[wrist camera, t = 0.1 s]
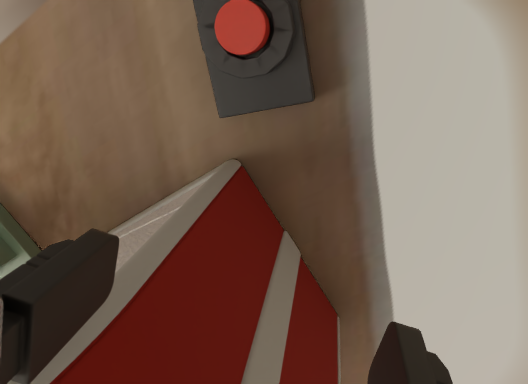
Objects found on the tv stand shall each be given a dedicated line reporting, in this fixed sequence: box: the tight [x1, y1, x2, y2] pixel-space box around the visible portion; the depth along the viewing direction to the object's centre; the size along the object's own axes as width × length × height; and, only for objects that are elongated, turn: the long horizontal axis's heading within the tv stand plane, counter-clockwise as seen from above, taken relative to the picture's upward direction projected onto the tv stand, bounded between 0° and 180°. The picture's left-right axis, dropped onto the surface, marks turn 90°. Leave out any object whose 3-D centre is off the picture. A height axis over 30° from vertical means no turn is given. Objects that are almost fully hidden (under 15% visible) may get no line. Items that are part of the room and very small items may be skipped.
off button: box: [215, 0, 270, 55], centre depth 26 cm, size 3×3×2 cm
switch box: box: [193, 0, 315, 118], centre depth 29 cm, size 11×7×4 cm, turn 11°
